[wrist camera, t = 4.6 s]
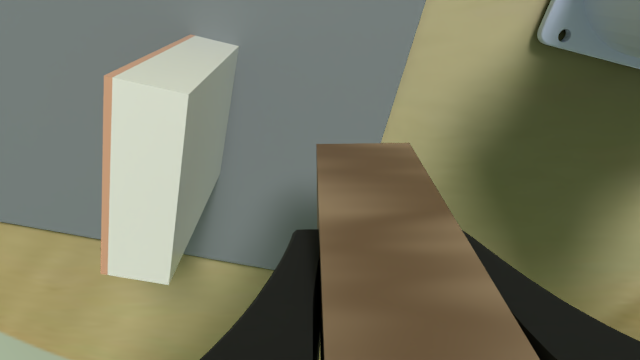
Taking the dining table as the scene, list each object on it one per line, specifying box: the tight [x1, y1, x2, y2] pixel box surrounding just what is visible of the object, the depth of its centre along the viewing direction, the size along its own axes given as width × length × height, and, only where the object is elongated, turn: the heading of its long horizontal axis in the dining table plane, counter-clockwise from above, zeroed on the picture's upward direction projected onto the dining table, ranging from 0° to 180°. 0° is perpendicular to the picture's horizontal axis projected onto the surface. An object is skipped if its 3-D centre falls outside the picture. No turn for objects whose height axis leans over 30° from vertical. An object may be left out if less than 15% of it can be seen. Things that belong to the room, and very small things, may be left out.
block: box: [316, 143, 540, 360], centre depth 10 cm, size 3×3×9 cm
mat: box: [0, 0, 426, 270], centre depth 18 cm, size 22×16×1 cm
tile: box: [101, 35, 239, 285], centre depth 15 cm, size 2×6×8 cm, turn 167°
